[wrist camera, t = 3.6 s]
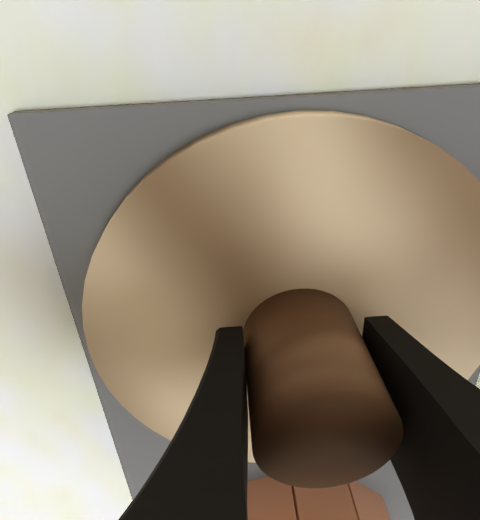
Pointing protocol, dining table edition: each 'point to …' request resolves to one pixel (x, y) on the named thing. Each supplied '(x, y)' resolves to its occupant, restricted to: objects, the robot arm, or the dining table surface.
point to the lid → (288, 282)
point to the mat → (154, 152)
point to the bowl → (313, 502)
